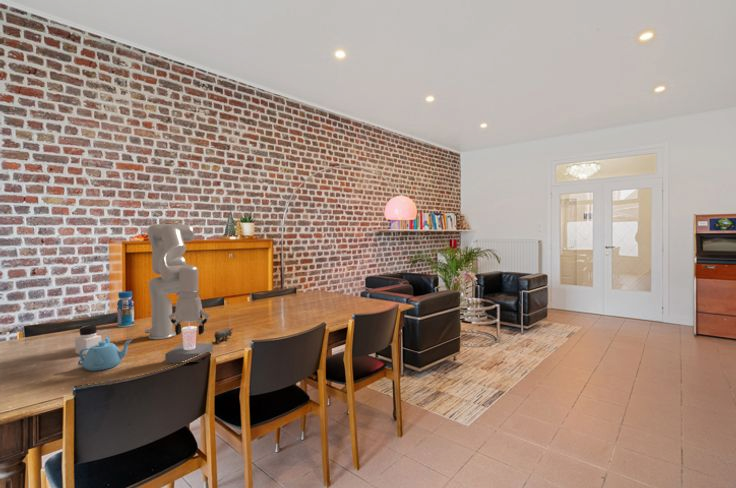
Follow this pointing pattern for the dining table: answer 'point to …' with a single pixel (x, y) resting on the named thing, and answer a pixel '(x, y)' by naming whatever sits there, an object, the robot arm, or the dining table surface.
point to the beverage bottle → (125, 309)
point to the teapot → (102, 355)
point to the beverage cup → (189, 337)
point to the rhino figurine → (222, 334)
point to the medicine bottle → (87, 339)
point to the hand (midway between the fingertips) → (189, 334)
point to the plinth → (187, 352)
